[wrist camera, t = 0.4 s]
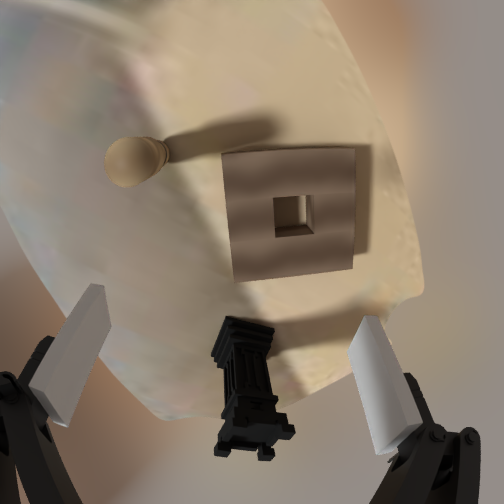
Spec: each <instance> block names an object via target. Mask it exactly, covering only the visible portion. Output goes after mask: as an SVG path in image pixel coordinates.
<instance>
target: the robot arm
mask: <svg viewBox="0 0 504 504" xmlns="http://www.w3.org/2000/svg"><path fill="white" fill-rule="evenodd" d="M110 329H111V321H110V316H109V311H108V306H107V300H106V295H105V289H104V286H103V285H97V284H92V283H91V284H90V285H89V287H88V288H87V290H86V291H85V293H84V294H83V296H82V297H81V298H80V300H79V301H78V303H77V304H76V306H75V307H74V309H73V311H72V312H71V314H70V315H69V317H68V318H67V320H66V322H65V323H64V325H63V326H62V328H61V329H60V331H59V333H58V334H57V336H56V337H55V338H54V337H51V336H46V337H45V338H44V339H43V340H41V341H40V342H39V344H38V346H37V347H36V349H35V351H34V352H33V354H32V355H31V358H30V359H29V361H28V362H27V364H26V366H25V367H24V369H23V371H22V373H21V374H20V376H19V378H18V380H17V379H16V377H15V376H14V375H13V374H12V373H10V372H7V371H4V372H0V504H21V502H20V497H19V490H18V484H17V477H16V468H17V471H18V474H19V477H20V480H21V482H22V485H23V488H24V490H25V493H26V496H27V498H28V500H29V503H30V504H83V503H82V501H81V499H80V498H79V496H78V494H77V492H76V490H75V488H74V486H73V484H72V482H71V480H70V478H69V475H68V473H67V471H66V469H65V467H64V464H63V462H62V460H61V457H60V455H59V452H58V450H57V447H56V445H55V442H54V440H53V437H52V434H51V431H50V429H49V426H48V424H47V422H46V421H47V418H48V416H49V417H50V418H51V419H52V421H53V422H55V423H57V424H60V425H62V426H65V427H68V426H69V423H70V420H71V418H72V415H73V413H74V410H75V408H76V405H77V402H78V400H79V398H80V395H81V393H82V390H83V388H84V386H85V383H86V381H87V379H88V376H89V374H90V372H91V369H92V367H93V365H94V363H95V360H96V358H97V356H98V354H99V352H100V350H101V347H102V345H103V343H104V341H105V339H106V337H107V335H108V333H109V331H110ZM347 354H348V357H349V360H350V363H351V366H352V370H353V373H354V376H355V380H356V383H357V386H358V390H359V393H360V397H361V400H362V403H363V407H364V411H365V414H366V418H367V422H368V425H369V429H370V433H371V437H372V441H373V444H374V448H375V452H376V455H379V454H384V453H390V452H391V451H393V450H394V449H395V448H396V447H397V448H398V451H399V452H398V453H397V454H395V455H394V456H393V457H392V458H391V459H389V461H388V463H390V462H391V461H392V464H391V465H390V467H389V469H388V471H387V473H386V475H385V477H384V479H383V481H382V482H381V484H380V486H379V488H378V490H377V491H376V493H375V495H374V496H373V498H372V500H371V501H370V503H369V504H478V497H479V485H480V462H481V456H480V455H481V450H480V449H481V448H480V447H481V446H480V445H481V443H480V436H479V434H478V432H477V431H476V430H475V429H474V428H472V427H466V428H464V429H463V430H462V431H461V432H460V433H456V432H447V431H446V430H445V429H444V427H442V426H441V425H439V424H435V423H434V421H433V418H432V416H431V413H430V411H429V409H428V406H427V404H426V401H425V399H424V398H423V394H422V392H421V391H420V387H419V385H418V383H417V380H416V379H415V378H414V377H413V376H412V375H411V374H410V373H403V372H402V369H401V367H400V365H399V362H398V360H397V358H396V356H395V353H394V351H393V349H392V347H391V345H390V342H389V340H388V338H387V336H386V334H385V332H384V330H383V327H382V325H381V323H380V321H379V319H378V317H377V316H370V315H364V317H363V319H362V321H361V324H360V326H359V328H358V330H357V332H356V334H355V336H354V338H353V340H352V342H351V344H350V346H349V348H348V350H347ZM15 465H16V468H15Z"/></svg>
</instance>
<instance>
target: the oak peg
mask: <svg viewBox="0 0 504 504" xmlns="http://www.w3.org/2000/svg"><path fill="white" fill-rule="evenodd" d="M168 159H169V149H168V147H167V145H166V144H165V143H164V142H162V141H160V140H155V139H153V138H151V137H125V138H121V139H119V140H117V141H115V142H114V143H113V144H112V145H111V146H110V147H109V149H108V150H107V153H106V155H105V160H104V167H105V171H106V174H107V176H108V177H109V179H110V180H111V181H112V182H113V183H115V184H116V185H118V186H121V187H133V186H136V185H138V184H140V183H141V182H143V181H145V180H146V179H148V178H150V177H152V176H153V175H155V174H157V173H158V172H159V171H160V169H161V168H162V167H163V166H164V165H165V164H166V163H167V161H168Z"/></svg>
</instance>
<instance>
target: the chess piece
mask: <svg viewBox="0 0 504 504" xmlns="http://www.w3.org/2000/svg"><path fill="white" fill-rule="evenodd" d="M274 332H275V330H274V328H270V327H266V326H262V325H258V324H254V323H250V322H246V321H242V320H238V319H234V318H231V317H227V316H226V317H225V320H224V322H223V325H222V327H221V330H220V332H219V335H218V337H217V340H216V342H215V345H214V347H213V350H212V352H211V357H214V362H216V363H217V368H221V369H224V398H225V408H224V410H223V412H222V414H221V419H225V423H224V425H223V426H222V428H221V430H220V431H219V433H218V442H217V444H216V446H215V447H214V455H215V456H220V457H228V455H229V454H230V453H231V449H238V450H246V451H256V450H257V449H258V453H257V455H258V460H259V461H271V460H272V459H273V458H274V457H275V452H274V448H271V446H273V445H274V444H275V443H276V442H277V440H278V439H282V440H290V439H291V438H292V437H293V435H294V434H295V433H296V432H295V428H294V425H291V424H288V419H287V415H286V413H278V412H276V408H275V405H276V403H277V402H278V396H276V395H273V393H272V388H271V383H270V377H269V372H268V367H267V362H266V355H267V354H268V352H269V350H270V348H271V342H272V340H273V337H272V336H273V334H274Z"/></svg>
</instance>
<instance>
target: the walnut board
mask: <svg viewBox="0 0 504 504" xmlns="http://www.w3.org/2000/svg"><path fill="white" fill-rule="evenodd" d="M221 157H222V168H223V178H224V189H225V199H226V209H227V219H228V228H229V238H230V247H231V256H232V266H233V275H234V283H237V282H247V281H256V280H265V279H274V278H283V277H291V276H300V275H308V274H316V273H324V272H332V271H340V270H347V269H352V268H353V253H354V233H355V196H356V168H355V149H354V148H346V147H312V148H285V149H267V150H253V151H241V152H230V153H222V154H221ZM301 195H306V225H299V226H288V227H277V228H275V225H274V207H273V198H275V197H288V196H301Z"/></svg>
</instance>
